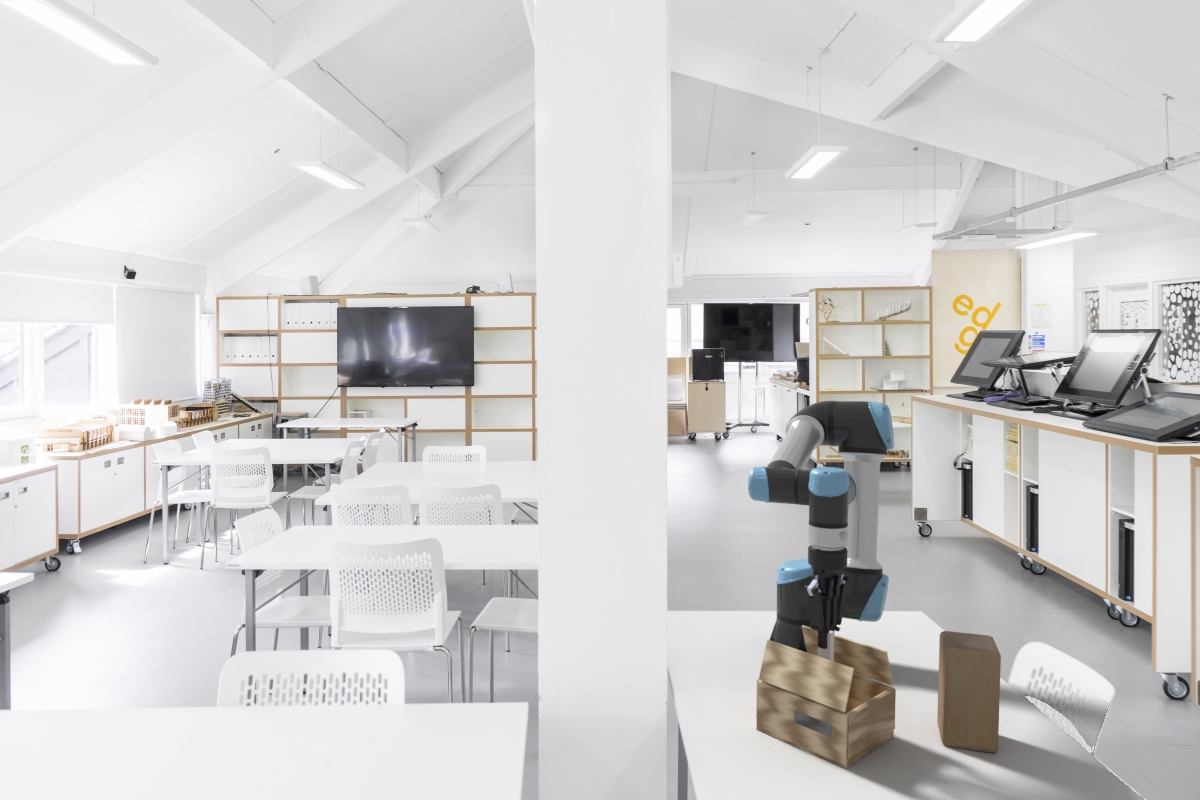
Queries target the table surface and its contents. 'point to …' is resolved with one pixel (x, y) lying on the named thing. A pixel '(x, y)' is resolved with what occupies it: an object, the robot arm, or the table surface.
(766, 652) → the flap near
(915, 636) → the table surface
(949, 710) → the wooden block
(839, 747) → the carton
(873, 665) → the flap far
